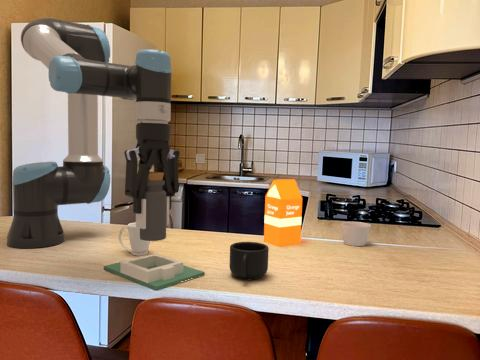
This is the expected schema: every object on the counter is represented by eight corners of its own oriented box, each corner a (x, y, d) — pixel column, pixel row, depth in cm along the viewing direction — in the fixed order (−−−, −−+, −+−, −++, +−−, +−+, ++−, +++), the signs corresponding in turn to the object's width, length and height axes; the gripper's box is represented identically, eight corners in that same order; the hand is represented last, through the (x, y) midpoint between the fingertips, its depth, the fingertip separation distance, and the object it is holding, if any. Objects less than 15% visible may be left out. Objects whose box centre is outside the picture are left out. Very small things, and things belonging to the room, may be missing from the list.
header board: (103, 269, 100) (103, 255, 100) (151, 257, 111) (151, 245, 110) (156, 290, 87) (156, 275, 87) (204, 275, 98) (204, 261, 97)
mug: (233, 268, 104) (234, 240, 103) (269, 271, 102) (270, 242, 101) (222, 284, 92) (223, 252, 91) (263, 288, 90) (264, 256, 90)
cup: (145, 258, 110) (145, 227, 110) (112, 254, 113) (112, 224, 112) (157, 251, 117) (158, 223, 116) (125, 248, 120) (126, 220, 119)
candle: (358, 239, 139) (359, 221, 138) (375, 246, 130) (376, 226, 130) (335, 241, 136) (336, 222, 135) (350, 248, 127) (351, 227, 127)
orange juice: (300, 243, 131) (303, 180, 129) (279, 247, 126) (281, 180, 124) (284, 238, 138) (287, 177, 136) (263, 241, 133) (265, 178, 131)
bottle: (134, 237, 95) (134, 171, 94) (155, 234, 99) (156, 171, 98) (149, 242, 91) (149, 173, 90) (171, 238, 95) (171, 172, 94)
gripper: (127, 120, 83) (126, 234, 85) (196, 124, 97) (194, 222, 99) (106, 120, 88) (106, 229, 90) (174, 125, 102) (173, 218, 104)
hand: (152, 225), depth 95 cm, fingers closed on bottle, 6 cm apart
